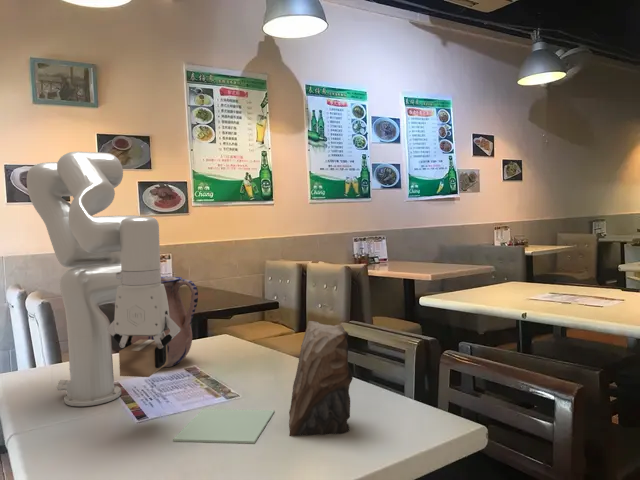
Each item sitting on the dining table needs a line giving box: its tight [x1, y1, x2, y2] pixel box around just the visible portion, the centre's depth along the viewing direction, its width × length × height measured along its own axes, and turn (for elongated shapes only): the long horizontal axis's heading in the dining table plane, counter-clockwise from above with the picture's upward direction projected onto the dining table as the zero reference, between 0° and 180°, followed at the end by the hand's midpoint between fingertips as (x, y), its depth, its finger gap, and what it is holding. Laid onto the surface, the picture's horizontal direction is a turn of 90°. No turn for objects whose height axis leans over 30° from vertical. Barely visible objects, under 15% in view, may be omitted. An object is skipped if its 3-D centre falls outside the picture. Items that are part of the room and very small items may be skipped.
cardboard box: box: [118, 340, 168, 378], centre depth 113 cm, size 6×9×5 cm, turn 171°
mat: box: [172, 408, 275, 444], centre depth 112 cm, size 16×16×1 cm
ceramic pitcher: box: [131, 276, 199, 368], centre depth 160 cm, size 18×21×25 cm
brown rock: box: [288, 320, 354, 437], centre depth 110 cm, size 13×13×20 cm
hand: (144, 364), depth 113 cm, fingers closed on cardboard box, 6 cm apart
